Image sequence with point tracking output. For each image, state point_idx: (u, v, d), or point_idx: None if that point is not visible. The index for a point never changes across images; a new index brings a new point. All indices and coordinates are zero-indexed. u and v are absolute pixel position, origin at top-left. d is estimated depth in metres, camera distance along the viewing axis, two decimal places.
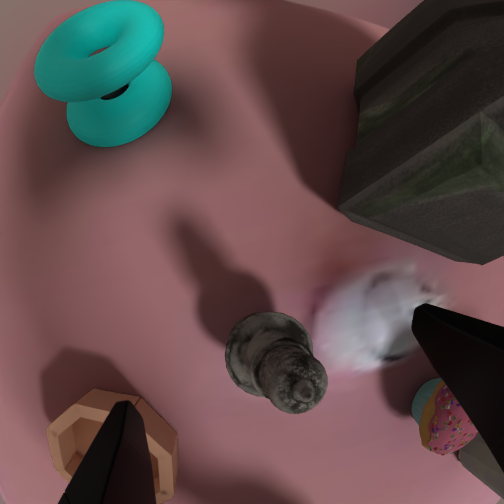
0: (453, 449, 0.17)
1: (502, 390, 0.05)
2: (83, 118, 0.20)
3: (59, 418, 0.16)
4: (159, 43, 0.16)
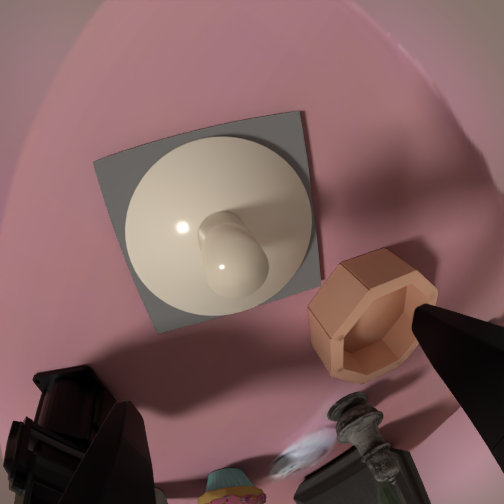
0: None
1: (502, 390, 0.05)
2: None
3: None
4: None
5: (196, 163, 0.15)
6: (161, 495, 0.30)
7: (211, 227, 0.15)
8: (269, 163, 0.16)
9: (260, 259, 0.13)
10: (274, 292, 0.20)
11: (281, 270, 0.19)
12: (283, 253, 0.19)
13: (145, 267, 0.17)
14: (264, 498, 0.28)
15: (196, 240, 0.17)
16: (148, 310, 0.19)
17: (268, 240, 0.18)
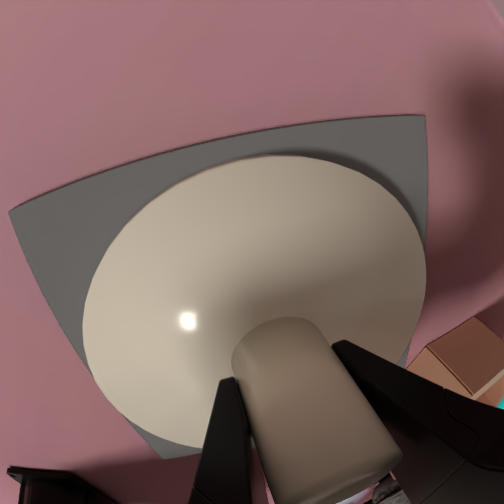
0: None
1: (417, 455, 0.05)
2: None
3: None
4: None
5: (233, 221, 0.07)
6: None
7: (273, 378, 0.06)
8: (382, 219, 0.07)
9: (390, 462, 0.04)
10: None
11: None
12: None
13: (134, 405, 0.08)
14: None
15: (228, 367, 0.08)
16: (146, 439, 0.10)
17: None
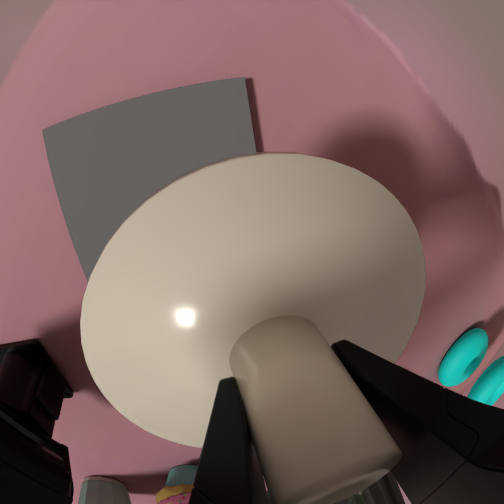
0: None
1: (417, 455, 0.05)
2: (474, 350, 0.30)
3: None
4: None
5: (231, 218, 0.06)
6: (122, 488, 0.28)
7: (271, 377, 0.06)
8: (381, 217, 0.07)
9: (389, 461, 0.04)
10: None
11: None
12: None
13: (132, 404, 0.08)
14: None
15: (227, 366, 0.08)
16: None
17: None
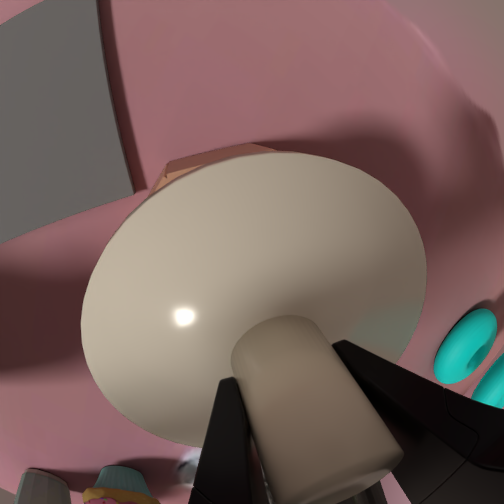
0: None
1: (417, 455, 0.05)
2: (478, 337, 0.23)
3: None
4: None
5: (232, 217, 0.06)
6: (60, 485, 0.22)
7: (273, 376, 0.06)
8: (382, 216, 0.07)
9: (391, 461, 0.04)
10: None
11: None
12: None
13: (133, 404, 0.08)
14: None
15: (228, 366, 0.08)
16: None
17: None
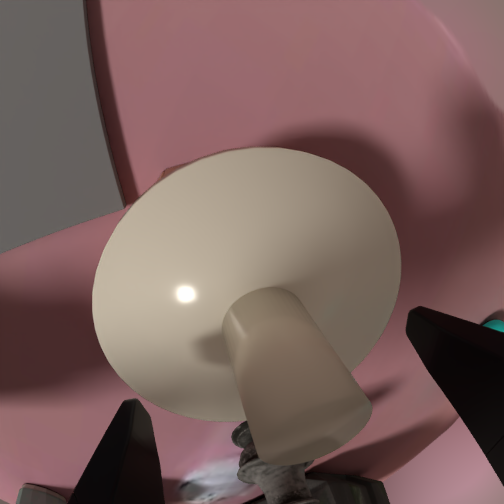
0: None
1: (497, 395, 0.05)
2: None
3: None
4: None
5: (222, 201, 0.08)
6: (58, 501, 0.20)
7: (256, 335, 0.07)
8: (353, 201, 0.09)
9: (360, 413, 0.06)
10: None
11: (346, 359, 0.12)
12: (353, 338, 0.11)
13: (134, 372, 0.09)
14: None
15: (220, 334, 0.09)
16: None
17: (335, 324, 0.11)
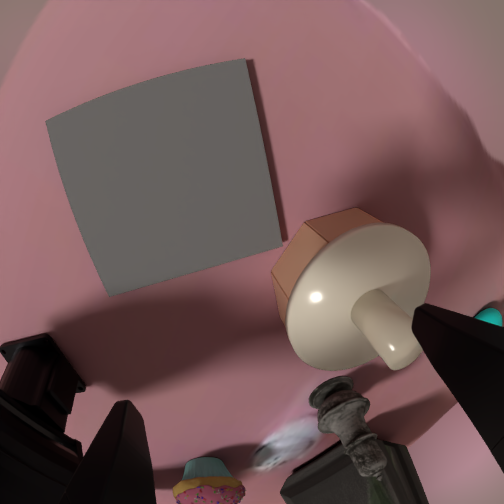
0: (189, 500, 0.24)
1: (502, 390, 0.05)
2: None
3: None
4: None
5: (363, 251, 0.16)
6: None
7: (378, 311, 0.16)
8: (412, 247, 0.17)
9: None
10: None
11: None
12: None
13: (302, 341, 0.18)
14: (243, 491, 0.27)
15: (349, 314, 0.18)
16: (98, 270, 0.17)
17: (398, 307, 0.19)
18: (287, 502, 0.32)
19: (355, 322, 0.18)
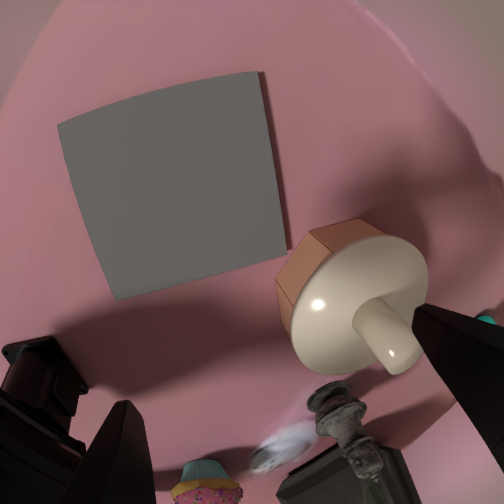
0: (188, 501, 0.24)
1: (502, 390, 0.05)
2: None
3: None
4: None
5: (365, 261, 0.17)
6: None
7: (378, 318, 0.17)
8: (412, 257, 0.18)
9: None
10: None
11: None
12: None
13: (305, 346, 0.19)
14: (240, 492, 0.27)
15: (350, 321, 0.19)
16: (106, 275, 0.18)
17: None
18: None
19: (356, 329, 0.18)
